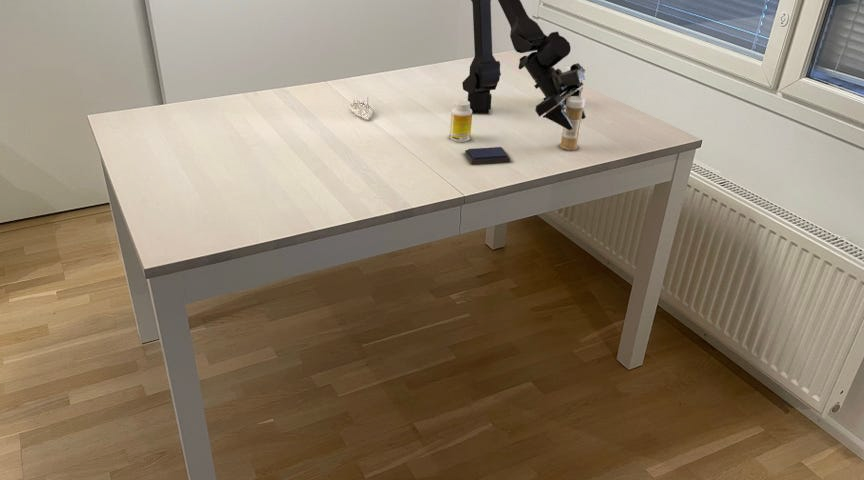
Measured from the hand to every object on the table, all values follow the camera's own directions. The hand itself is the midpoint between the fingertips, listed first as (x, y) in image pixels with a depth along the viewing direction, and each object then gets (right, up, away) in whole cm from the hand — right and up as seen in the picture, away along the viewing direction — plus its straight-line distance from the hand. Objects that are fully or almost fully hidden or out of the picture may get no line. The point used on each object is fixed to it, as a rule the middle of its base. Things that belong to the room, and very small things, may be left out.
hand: (578, 123), depth 187 cm
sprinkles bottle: (-1, -5, +5) cm, 7 cm away
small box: (+2, +12, +32) cm, 34 cm away
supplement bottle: (-30, -2, +9) cm, 31 cm away
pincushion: (-57, +8, +24) cm, 62 cm away
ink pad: (-24, -9, -1) cm, 26 cm away
